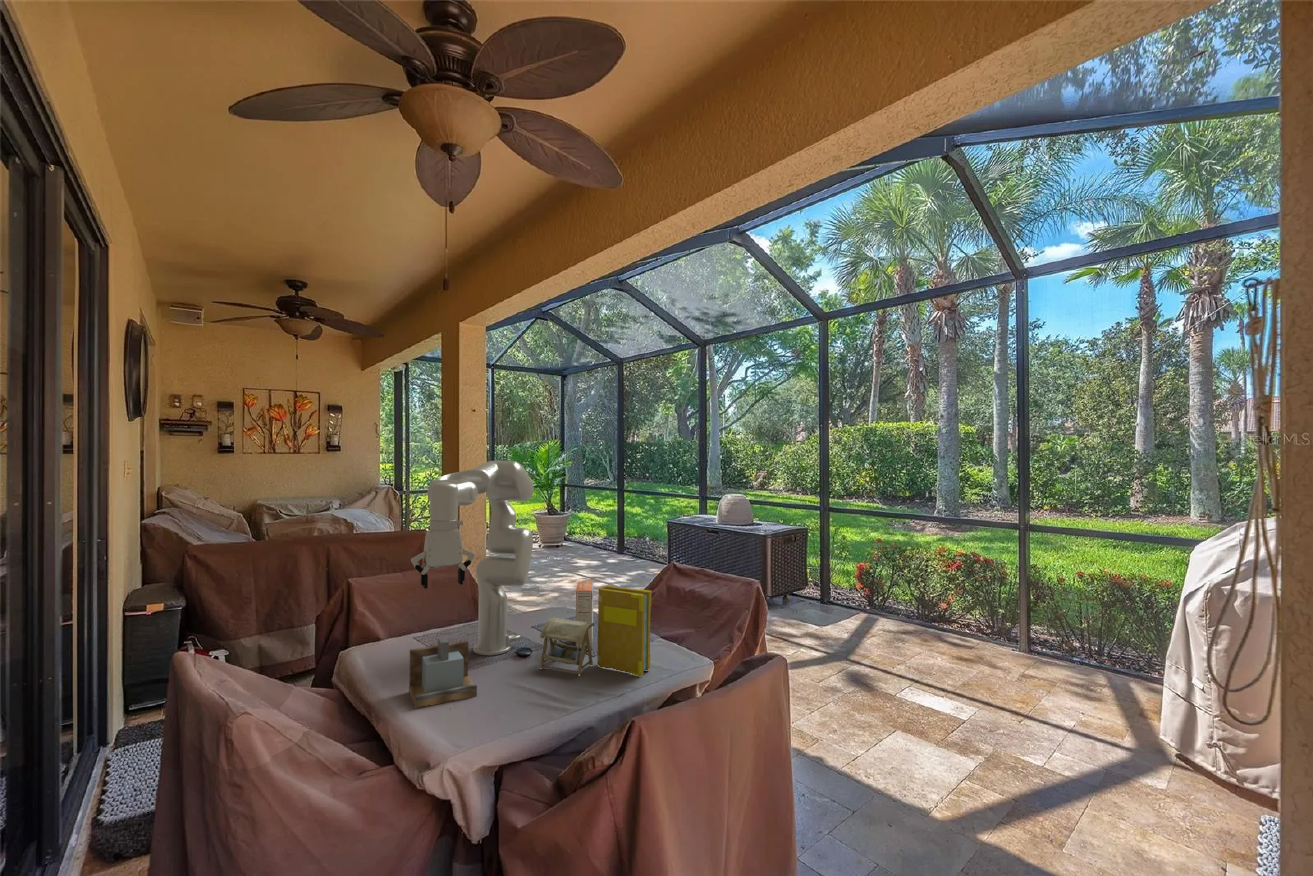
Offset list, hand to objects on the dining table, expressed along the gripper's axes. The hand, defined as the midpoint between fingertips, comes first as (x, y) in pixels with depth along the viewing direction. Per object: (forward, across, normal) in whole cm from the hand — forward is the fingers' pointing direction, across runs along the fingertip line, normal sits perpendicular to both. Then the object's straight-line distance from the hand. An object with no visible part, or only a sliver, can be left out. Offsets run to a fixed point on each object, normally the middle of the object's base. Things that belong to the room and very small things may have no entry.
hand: (442, 585), depth 167 cm
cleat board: (+30, 0, +3) cm, 30 cm away
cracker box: (+31, -52, -17) cm, 63 cm away
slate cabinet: (+28, 0, +1) cm, 28 cm away
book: (+31, -53, +10) cm, 62 cm away
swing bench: (+31, -38, +1) cm, 49 cm away
